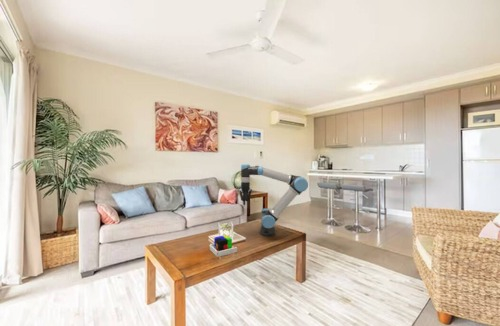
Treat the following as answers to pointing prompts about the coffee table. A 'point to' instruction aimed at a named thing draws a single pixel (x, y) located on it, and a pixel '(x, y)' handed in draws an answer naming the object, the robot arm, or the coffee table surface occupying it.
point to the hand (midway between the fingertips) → (245, 208)
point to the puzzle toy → (222, 243)
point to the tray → (223, 252)
